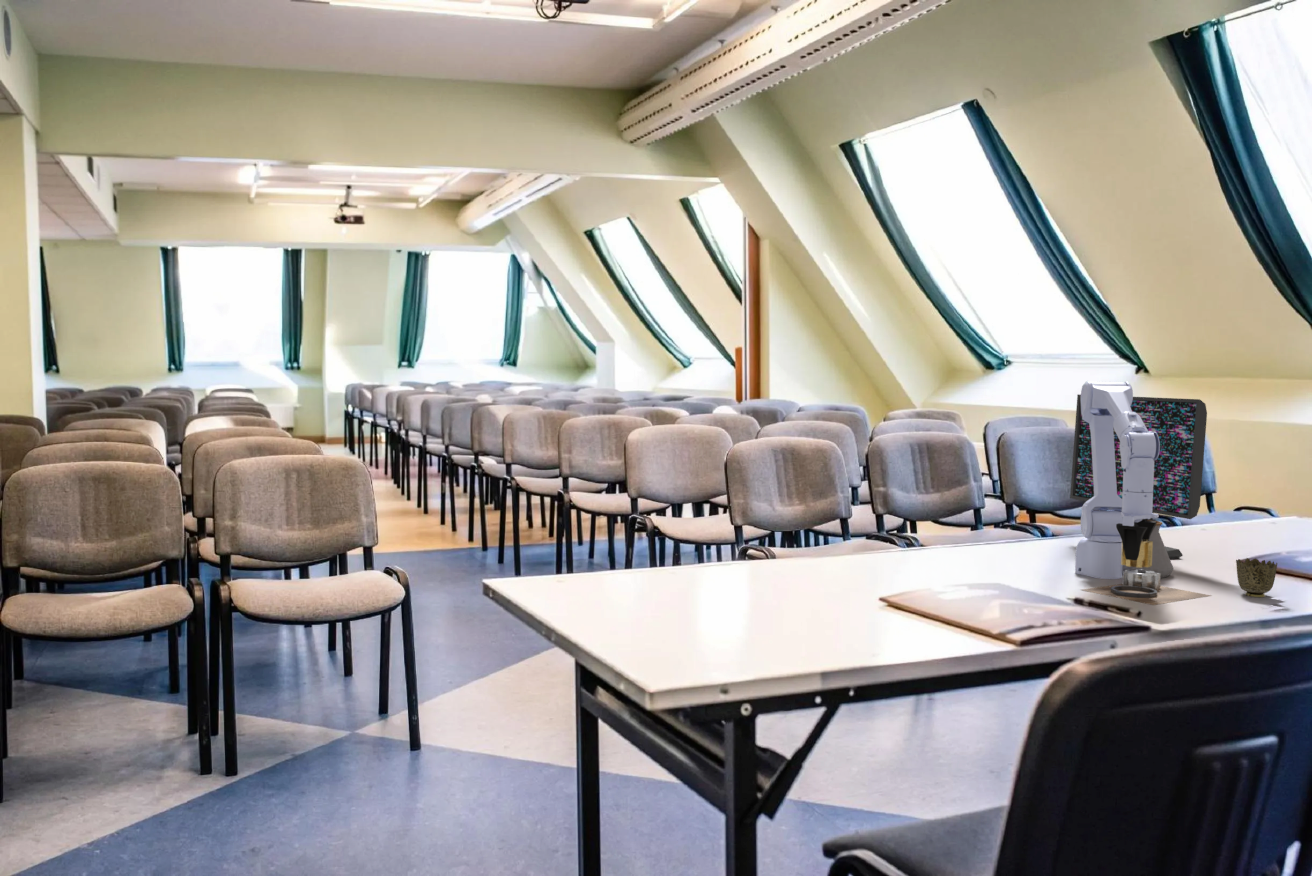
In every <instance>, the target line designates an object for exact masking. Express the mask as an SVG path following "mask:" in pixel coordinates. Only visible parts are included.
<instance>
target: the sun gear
mask: <svg viewBox="0 0 1312 876" xmlns="http://www.w3.org/2000/svg"><path fill="white" fill-rule="evenodd" d="M1160 575H1161V574H1160V573H1155V572H1154V571H1146V570H1145V569H1138V570H1125V571H1123V573H1122V584H1123V586H1139V587H1146V588H1151V589H1154V590H1157V589H1158V588H1160V586H1161V578H1160Z"/></svg>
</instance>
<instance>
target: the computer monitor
mask: <svg viewBox="0 0 1312 876" xmlns="http://www.w3.org/2000/svg"><path fill="white" fill-rule="evenodd" d="M1130 407H1131V410H1132V412H1136V413H1137V414H1138V415H1139V416H1140V417H1141V419H1142V421H1143V423H1144V424H1145V426H1146V428H1147V430H1148V431H1152V432H1156V433H1157V435H1158V437H1159V442H1160V451H1159V456H1158V458H1157V460H1154V482H1153V507H1152V513H1153V514H1159V515H1163V516H1171V517H1174V518H1181V519H1187V520H1192V519H1194V518H1195V517H1197V516H1198V513H1199V510H1200V508H1201V499H1202V498H1201V497H1202V482H1203V471H1204V470H1203V469H1204V457H1205V456H1204V455H1205V446H1206V434H1207V433H1206V431H1207V420H1208V419H1207V418H1208V411H1207V405H1206V403H1205V402H1204V401H1203V400H1201V399H1200V398H1199V399H1198V398H1176V397H1175V398H1174V397H1153V396H1151V397H1149V396H1148V397H1147V396H1133V400H1132V404H1131V406H1130ZM1075 409H1076V410H1075V422H1074V423H1075V424H1074V439H1073V451H1072V453H1073V454H1072V464H1071V465H1072V467H1071V478H1070V493H1069V494H1070V495H1069V498H1070V499H1073V500H1078V501H1085V502H1086V501H1088V500H1089V499H1091V498H1092V497H1094V483H1093V464H1092V446H1091V432H1090V425H1089V423H1088V422H1086V421H1084V420H1083V419H1082V414H1081V394H1079V393H1078V394H1077V398H1076V408H1075ZM1113 433H1114V450H1115V467H1116V484H1117V495H1118V496H1119V497H1120V498H1121V499H1122V495H1123V468H1122V465H1121V454H1120V440H1119V438H1118V436H1117V434H1116V432H1115V430H1114V428H1113ZM1147 520H1153V521H1154V518H1150V519H1147ZM1164 546H1165V545H1164ZM1165 548H1166V551H1167V553H1168V556H1169V558H1170V560H1171V559H1172V560H1174V559H1180V558H1182V557H1183V556H1184V554H1183V553H1182V551H1181V550H1180V549H1179V548H1174V547H1170V546H1165Z"/></svg>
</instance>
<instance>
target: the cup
mask: <svg viewBox="0 0 1312 876" xmlns="http://www.w3.org/2000/svg"><path fill="white" fill-rule="evenodd" d="M1235 563H1236V564H1235V565H1236V575H1237V583H1238V586H1239V587H1240V589H1242V590H1243V591H1244V592H1245V593H1244V595H1245V596H1248V597H1255V598H1264V597H1266V593H1269V592H1270V591H1272V588H1273V586H1274V583H1275V579H1276V575H1277V569H1278V568H1277V567H1278V562H1276V563H1275V561H1271V560H1268V561H1267V562H1266V560H1265V559H1263V560H1261V561H1260V560H1259V559H1258V558H1253V559H1251V560H1250V558H1247V557H1246V558H1245V560H1244V561H1241V559H1239V558H1238V559H1236V560H1235Z"/></svg>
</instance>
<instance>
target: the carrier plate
mask: <svg viewBox="0 0 1312 876" xmlns="http://www.w3.org/2000/svg"><path fill="white" fill-rule="evenodd" d="M1113 586H1123V583H1119V584H1111V585H1104V586H1098V587H1091V588H1083V589H1081V591H1083V592H1088V593H1093V594H1096V595H1103V596H1108V597H1112V598H1117V599H1122V600H1126V601H1131V602H1132V601H1133V602H1137V603H1142V604H1147V605H1151V606H1156V605H1164V604H1168V603H1169V604H1170V603H1175V602H1176V603H1177V602H1181V601H1182V602H1183V601H1188V600H1193V599H1201V598H1207V597H1212V596H1213V595H1211V594H1206V593H1200V592H1195V591H1190V590H1185V589H1178V588H1174V587H1169V586H1164V585H1160V588H1158V589H1157V590H1156V591H1157V596H1156V597H1152V598H1134V597H1125V596H1120V595H1115V594H1113V593H1111V588H1112V587H1113ZM1118 591H1123V592H1129V593H1148V592H1143V591H1135V590H1118Z"/></svg>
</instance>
